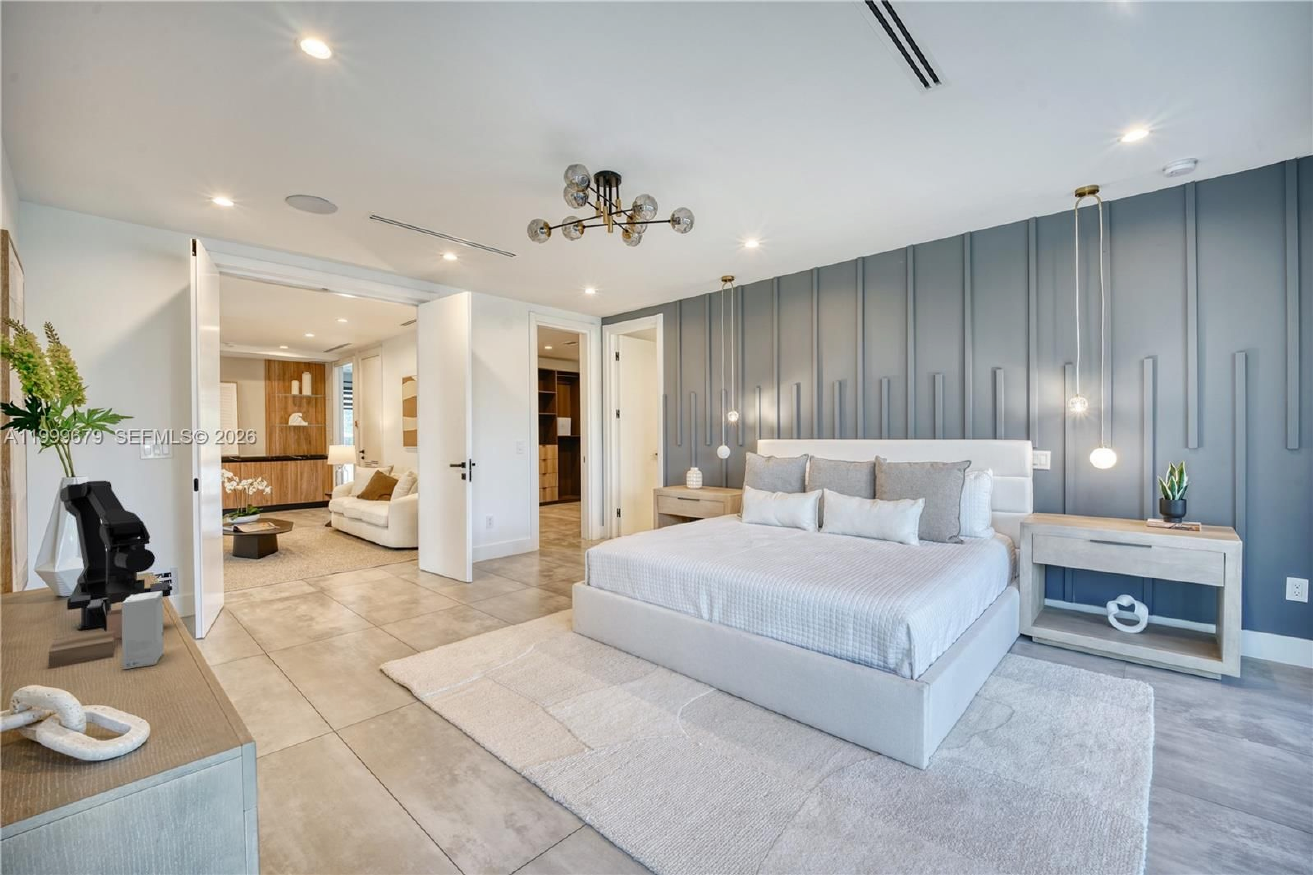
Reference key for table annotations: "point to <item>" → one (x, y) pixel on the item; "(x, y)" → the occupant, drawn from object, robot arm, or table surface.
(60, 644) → the block
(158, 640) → the skincare box
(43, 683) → the table surface
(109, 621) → the terracotta block
